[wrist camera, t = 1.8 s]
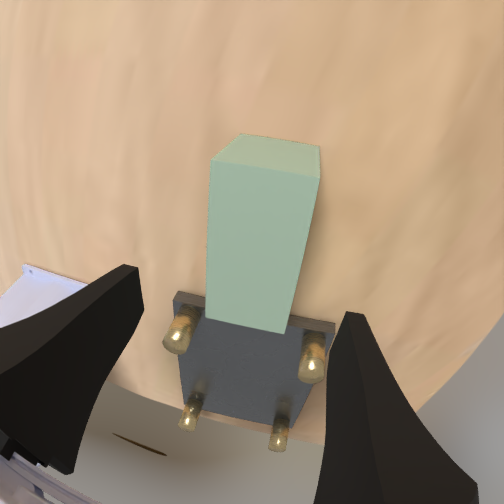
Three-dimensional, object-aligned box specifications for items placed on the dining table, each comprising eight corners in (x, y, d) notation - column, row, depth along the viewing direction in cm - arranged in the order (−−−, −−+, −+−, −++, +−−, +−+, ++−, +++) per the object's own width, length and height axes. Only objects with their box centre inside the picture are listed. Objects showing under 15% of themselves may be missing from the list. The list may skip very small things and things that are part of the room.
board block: (229, 262, 20) (205, 317, 16) (241, 133, 15) (210, 159, 11) (293, 274, 19) (284, 334, 15) (319, 146, 15) (320, 177, 11)
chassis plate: (187, 396, 30) (174, 428, 27) (178, 290, 22) (155, 330, 19) (292, 420, 29) (287, 454, 25) (335, 323, 21) (334, 369, 17)
